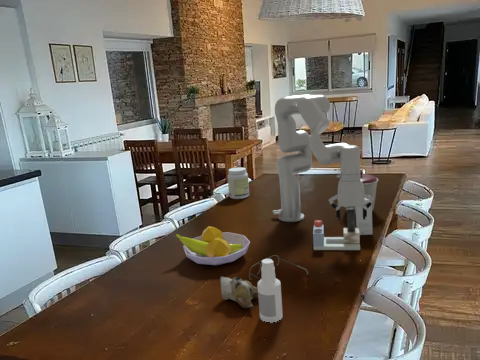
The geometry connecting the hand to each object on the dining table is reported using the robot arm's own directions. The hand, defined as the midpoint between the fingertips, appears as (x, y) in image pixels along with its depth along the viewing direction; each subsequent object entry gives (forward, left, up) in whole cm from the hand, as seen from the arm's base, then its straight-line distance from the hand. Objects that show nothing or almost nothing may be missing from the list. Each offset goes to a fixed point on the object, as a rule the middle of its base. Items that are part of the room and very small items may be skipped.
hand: (351, 218), depth 172 cm
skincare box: (+6, +15, -12) cm, 20 cm away
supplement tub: (-62, +75, -12) cm, 98 cm away
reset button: (-13, 0, -3) cm, 14 cm away
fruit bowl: (-54, -13, -12) cm, 57 cm away
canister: (+6, +43, -12) cm, 45 cm away
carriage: (0, 0, -10) cm, 10 cm away
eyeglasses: (-27, -29, -12) cm, 41 cm away
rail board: (-6, 0, -11) cm, 13 cm away
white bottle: (-26, -55, -12) cm, 62 cm away
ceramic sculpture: (-37, -46, -12) cm, 60 cm away
